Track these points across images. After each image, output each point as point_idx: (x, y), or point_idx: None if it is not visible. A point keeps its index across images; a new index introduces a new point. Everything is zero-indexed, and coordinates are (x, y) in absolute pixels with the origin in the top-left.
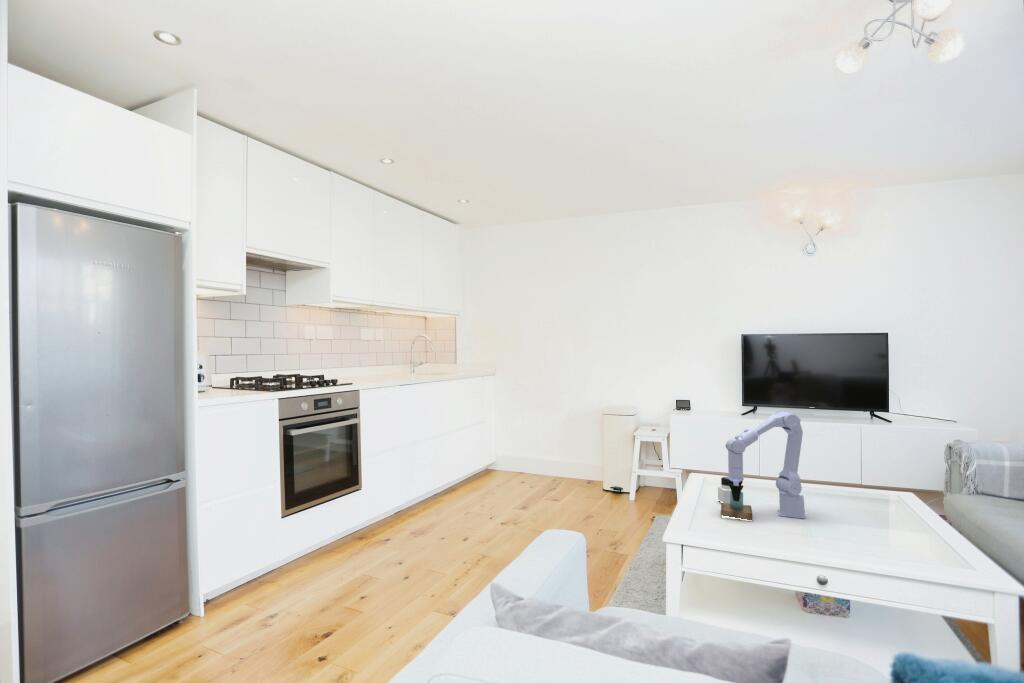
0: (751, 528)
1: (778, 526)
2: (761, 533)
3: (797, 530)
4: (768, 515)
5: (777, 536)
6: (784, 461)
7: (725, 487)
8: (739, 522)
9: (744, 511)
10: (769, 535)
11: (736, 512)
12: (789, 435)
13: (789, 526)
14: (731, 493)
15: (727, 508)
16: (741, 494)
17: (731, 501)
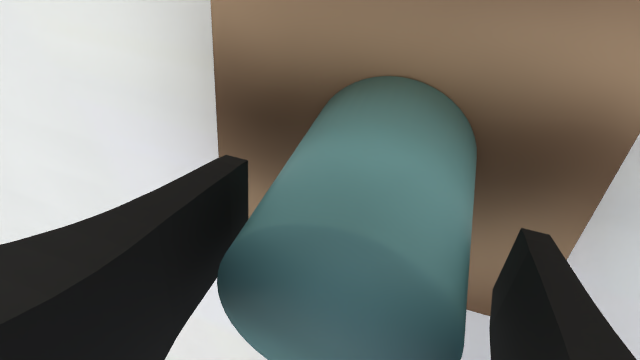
0: (76, 133)
1: (212, 305)
2: (13, 165)
3: (183, 354)
4: (472, 354)
5: (21, 230)
6: None
7: None
8: (184, 79)
9: (258, 192)
10: (9, 197)
11: (219, 103)
12: None
13: (239, 353)
14: (277, 215)
15: (327, 20)
16: (257, 340)
17: (327, 128)
